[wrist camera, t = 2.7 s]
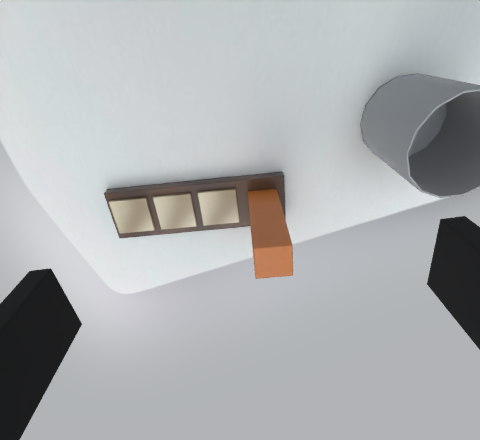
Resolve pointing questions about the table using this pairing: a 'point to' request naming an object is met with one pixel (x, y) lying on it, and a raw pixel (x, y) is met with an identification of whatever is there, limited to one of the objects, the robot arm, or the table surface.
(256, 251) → the tall orange pillar
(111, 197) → the rack
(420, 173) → the cup
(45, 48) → the table surface
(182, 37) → the table surface
